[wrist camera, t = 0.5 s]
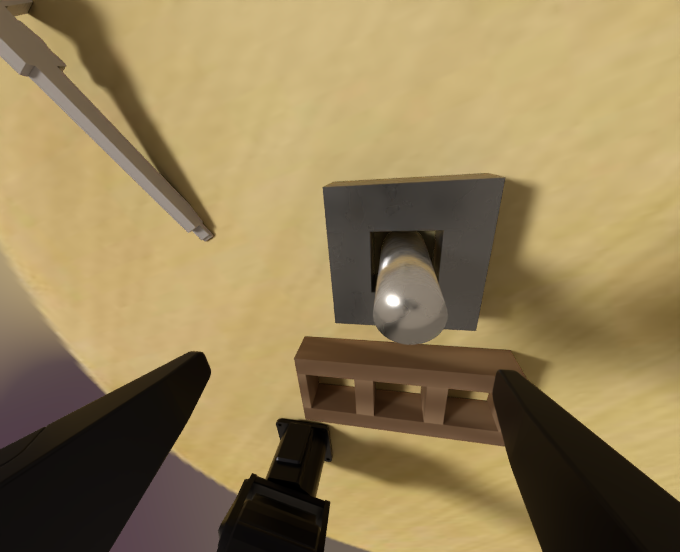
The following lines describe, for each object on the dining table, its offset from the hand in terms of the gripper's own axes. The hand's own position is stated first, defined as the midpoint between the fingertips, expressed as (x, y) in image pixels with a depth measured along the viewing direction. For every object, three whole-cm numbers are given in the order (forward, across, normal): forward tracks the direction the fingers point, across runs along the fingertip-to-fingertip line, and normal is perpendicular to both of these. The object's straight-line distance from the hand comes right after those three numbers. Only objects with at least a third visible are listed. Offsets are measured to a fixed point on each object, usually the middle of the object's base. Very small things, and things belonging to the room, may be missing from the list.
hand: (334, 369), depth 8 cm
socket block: (+13, -2, +1) cm, 13 cm away
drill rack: (+13, -2, +14) cm, 19 cm away
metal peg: (+13, -2, +1) cm, 13 cm away
